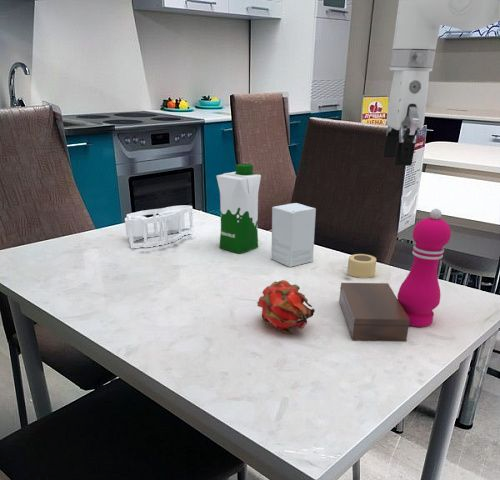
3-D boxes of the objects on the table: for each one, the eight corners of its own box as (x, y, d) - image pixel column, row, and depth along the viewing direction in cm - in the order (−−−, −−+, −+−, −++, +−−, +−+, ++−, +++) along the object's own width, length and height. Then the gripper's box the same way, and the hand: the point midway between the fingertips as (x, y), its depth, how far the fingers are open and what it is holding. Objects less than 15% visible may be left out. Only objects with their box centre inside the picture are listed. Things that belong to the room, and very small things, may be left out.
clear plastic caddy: (184, 228, 144) (182, 202, 140) (204, 237, 136) (203, 210, 132) (117, 240, 133) (114, 212, 130) (134, 250, 125) (131, 221, 122)
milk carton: (263, 247, 129) (265, 165, 119) (239, 255, 122) (239, 170, 113) (237, 240, 134) (237, 161, 124) (213, 248, 127) (211, 166, 118)
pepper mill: (406, 307, 96) (427, 201, 87) (442, 320, 91) (467, 210, 82) (385, 318, 91) (405, 207, 82) (422, 332, 87) (447, 216, 78)
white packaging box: (313, 261, 119) (317, 208, 113) (289, 267, 115) (291, 212, 109) (294, 253, 124) (296, 201, 119) (269, 258, 121) (271, 205, 115)
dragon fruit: (268, 317, 95) (302, 353, 87) (237, 301, 89) (271, 338, 81) (295, 281, 93) (333, 314, 85) (266, 262, 88) (303, 296, 79)
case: (387, 302, 98) (389, 283, 96) (408, 341, 84) (412, 319, 82) (338, 301, 98) (340, 282, 97) (351, 340, 84) (354, 318, 82)
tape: (371, 268, 115) (373, 253, 113) (377, 278, 110) (379, 262, 108) (345, 268, 115) (346, 253, 114) (349, 277, 110) (351, 262, 108)
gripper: (448, 62, 83) (428, 169, 91) (419, 62, 99) (404, 154, 107) (402, 60, 83) (387, 168, 91) (381, 61, 99) (369, 153, 107)
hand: (396, 160), depth 99 cm, fingers open, 9 cm apart
